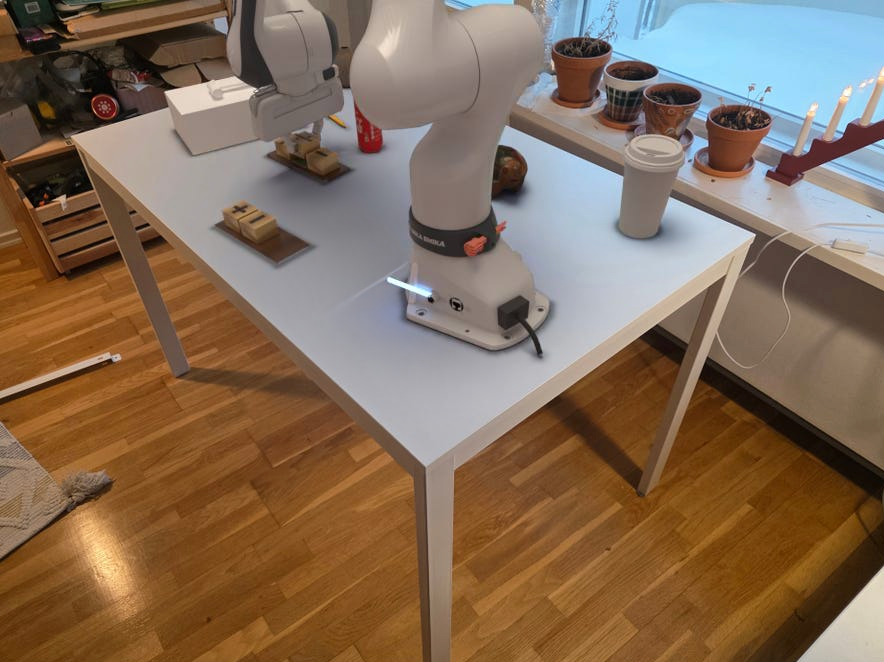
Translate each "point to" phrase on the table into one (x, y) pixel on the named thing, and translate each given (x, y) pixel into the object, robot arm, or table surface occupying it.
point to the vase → (344, 64)
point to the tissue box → (212, 114)
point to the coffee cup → (648, 182)
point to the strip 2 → (326, 177)
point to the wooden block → (305, 143)
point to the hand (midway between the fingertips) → (305, 146)
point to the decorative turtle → (508, 170)
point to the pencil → (337, 120)
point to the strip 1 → (271, 245)
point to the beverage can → (367, 133)
